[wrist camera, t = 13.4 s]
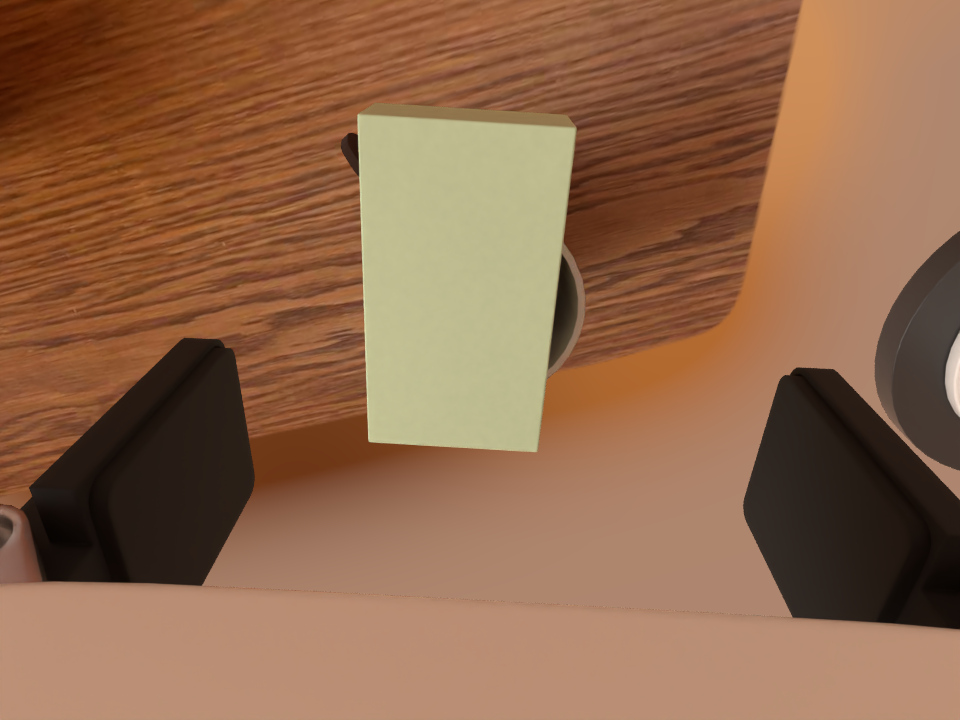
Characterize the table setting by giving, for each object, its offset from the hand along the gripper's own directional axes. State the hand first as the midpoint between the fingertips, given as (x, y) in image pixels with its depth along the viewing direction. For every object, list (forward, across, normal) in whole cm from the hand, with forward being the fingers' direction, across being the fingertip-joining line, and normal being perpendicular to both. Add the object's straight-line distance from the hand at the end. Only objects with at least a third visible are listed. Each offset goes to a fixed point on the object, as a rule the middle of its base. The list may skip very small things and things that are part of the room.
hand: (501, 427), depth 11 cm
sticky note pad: (+14, +1, +2) cm, 14 cm away
